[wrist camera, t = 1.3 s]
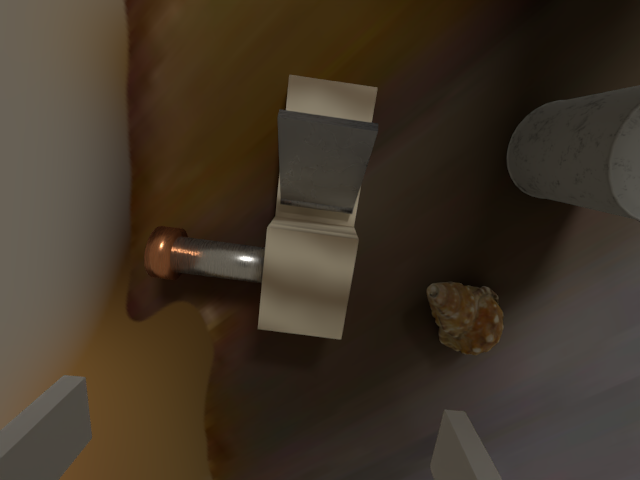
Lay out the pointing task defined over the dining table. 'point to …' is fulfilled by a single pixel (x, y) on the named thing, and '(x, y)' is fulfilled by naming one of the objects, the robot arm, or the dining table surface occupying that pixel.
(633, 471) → the dining table surface
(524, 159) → the grey stone cylinder
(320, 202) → the latch flap
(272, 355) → the dining table surface
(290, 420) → the dining table surface
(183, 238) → the pin
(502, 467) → the dining table surface
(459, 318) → the seashell
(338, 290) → the block
